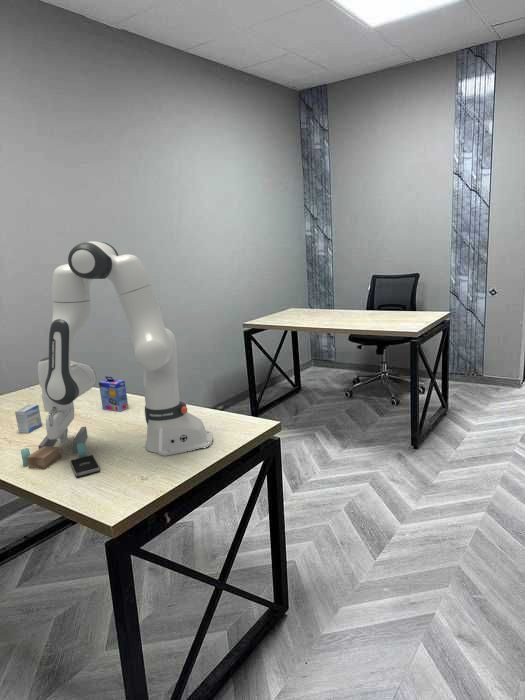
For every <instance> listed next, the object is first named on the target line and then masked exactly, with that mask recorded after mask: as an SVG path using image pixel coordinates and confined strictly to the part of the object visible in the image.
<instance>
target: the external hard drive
mask: <svg viewBox="0 0 525 700" xmlns="http://www.w3.org/2000/svg"><path fill="white" fill-rule="evenodd" d="M69 464H70V467H71V469H72V472H73V475H74V476H75V478H76V479H80V477H81V478H83V477H87V476H90V475H94V474H98V473H100V472H101V467H100V465H99V463H98V461H97V460H96V458H95V456H94V455H93V454H91V455H90V454H89V455H86V456H85V457H81V458H79V457H77V458H75V459H71V460H70V461H69Z"/></svg>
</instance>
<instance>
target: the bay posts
mask: <svg viewBox="0 0 525 700" xmlns="http://www.w3.org/2000/svg"><path fill="white" fill-rule="evenodd" d="M77 450H78V454H77V455H78V456H77V458H81V457H85V456H87V450H86V444H85V442H84V443H78V444H77ZM20 454H21V460H22V466H23V465H24V466H23V467H28V462H27V456H29V455H31V451H30V448H28V447H27V448H22V449H20Z"/></svg>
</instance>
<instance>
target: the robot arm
mask: <svg viewBox="0 0 525 700" xmlns="http://www.w3.org/2000/svg"><path fill="white" fill-rule="evenodd" d="M67 257H68V258H67V263H66V264H61V265H59V266H58V267H56V268H55V269H54V270H53V273H52V282H51V295H52V296H51V297H52V318H51V319H52V321H51V325H50V329H49V334H48V335H49V336H48V337H49V338H48V356H46V357H44V358H42V359H41V360H39V361H38V364H37V377H38V381H39V382H38V383H39V385H40V388H41V391H42V392H41V398H42V399H41V400H42V405H43V411H44V412H46V413H48V415H47V416H46V417H45V427H46V436H47V437H48V439H49V440H54V439H57V440H59V443H60V444H66V443H67V441H68V439H69V436H68V434H69V433H68V431H69V429H68V427H69V426H70V424H71V423H72V422H73V420H74V419H75V403H74V401H75V400H76V399H77V398H79V397H81V396H82V395H83V394H85V393H87V392H88V391H90V390H91V389H92V388H93V387H94V386H95V385H96V383H97V374H96V372H95V370H94V368H93V367H92V366H91V365H89V364H87V363H83V362H82V363H81V362H76V361H73V360H72V359H71V358H72V357H71V356H72V344H73V342H74V339H75V338H76V336H77V335H78V333H79V332H80V331H81V330H82V329H83V328H84V327H85V326H86V325H87V323H88V322H89V321H90V318H91V312H92V310H91V309H92V308H91V307H92V305H91V303H92V302H91V296H90V295H91V293H90V291H91V290H90V286H91V283H92V281H93V280H105V279H108V280H109V281H110V282H111V284H112V285H113V287H114V289H115V292H116V295H117V297H118V301H119V303H120V305H121V308H122V311H123V313H124V316H125V320H126V322H127V325H128V331H129V334H130V339H131V342H132V346H133V349H134V354H135V355H134V356H135V360H136V362H137V363H138V364H139V366H141V367H142V368H143V383H142V385H143V395H144V402H145V406H144V417H145V419H144V420H145V421H146V422H145V423H146V425H147V427H146V441H145V446H144V447H145V450H147V451H149V452H150V453H156V454H159V455H161V456H163V457H167V456H171V455H172V456H173V455H176V454H181V453H182V454H183V453H187V451H188V452H191V451H192V450H193V451H196V450H195V449H199V448H204V447H207V446H209V445H210V444H211V443H212V444H213V442H212V440H213V441H214V438H213V434H212V432H211V431H210V430H208V429H206V427H205V424H204V422H203V421H202V419H201V418H200V417H197V416H196V415H193V414H192V413H191V412H188V407H187V404H186V402H185V401H181V400H180V394H179V393H180V391H179V382H178V355H177V354H178V351H177V350H178V349H177V339H176V337H175V334H174V333H173V332H172V330H170V329H169V328H167V327H165V323H164V317H163V315H162V310H161V309H162V308H161V306H160V304H159V303H160V302H159V300H158V298H157V295H156V292H155V289H154V287H153V283H152V282H151V279H150V277H149V275H148V273H147V270H146V269H145V267H144V265H143V263H142V262H141V260H140V258H139V257H137V255H134V254H128V253H126V254H121V255H119V253H118V251H117V249H115V247H114V246H112V245H111V244H110V243H107V242H105V241H104V242H103V241H97V240H96V241H94V240H93V241H90V240H89V241H86V242H85V241H84V242H80V243H78V244H76V245H75V246H73V248H71V250H70V251H69V253H68V256H67ZM208 442H209V443H208ZM212 444H211V445H212ZM211 445H210V446H211ZM210 446H209V447H210ZM204 449H205V448H204ZM199 450H200V449H199ZM193 451H192V452H193Z"/></svg>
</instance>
